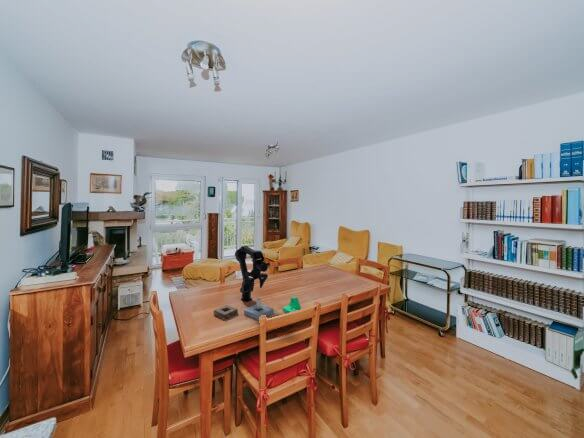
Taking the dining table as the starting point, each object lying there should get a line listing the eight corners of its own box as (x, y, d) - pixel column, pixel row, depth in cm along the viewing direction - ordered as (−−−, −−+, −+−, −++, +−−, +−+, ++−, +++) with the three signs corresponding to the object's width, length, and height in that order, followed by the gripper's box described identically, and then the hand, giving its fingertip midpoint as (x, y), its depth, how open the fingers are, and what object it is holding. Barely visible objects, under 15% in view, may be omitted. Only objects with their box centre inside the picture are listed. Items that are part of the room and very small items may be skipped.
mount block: (226, 309, 175) (226, 304, 175) (237, 313, 169) (237, 309, 168) (213, 314, 166) (213, 310, 166) (224, 319, 160) (224, 314, 160)
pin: (258, 312, 171) (258, 297, 171) (262, 313, 169) (262, 299, 169) (255, 313, 169) (255, 299, 168) (258, 315, 167) (259, 300, 166)
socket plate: (258, 307, 179) (258, 303, 179) (273, 312, 171) (273, 308, 170) (243, 314, 167) (244, 310, 167) (259, 320, 159) (259, 315, 159)
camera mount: (281, 311, 174) (282, 296, 173) (289, 308, 179) (290, 294, 179) (293, 317, 165) (294, 302, 165) (301, 313, 171) (302, 299, 170)
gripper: (257, 264, 192) (257, 284, 193) (239, 269, 176) (239, 290, 177) (268, 266, 185) (268, 287, 186) (250, 272, 170) (250, 294, 171)
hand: (256, 289), depth 180 cm, fingers open, 9 cm apart
